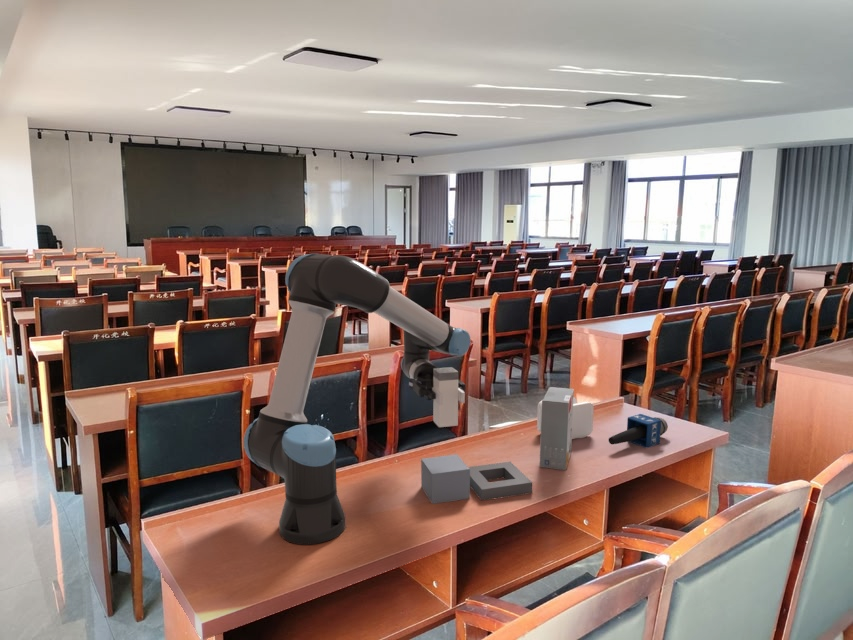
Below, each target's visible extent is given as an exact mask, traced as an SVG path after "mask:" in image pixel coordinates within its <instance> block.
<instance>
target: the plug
mask: <svg viewBox="0 0 853 640" xmlns="http://www.w3.org/2000/svg"><path fill="white" fill-rule="evenodd" d="M458 379H459V371H458V370H457V369H455V368H454V367H452V366H450V367H449V366H448V367H437V368H433V388H434V387H435V388H436V389H437V390H438V391H440V392H441V393H442V394H443V405H439V404H438V403H437V402H436V401H435V400H434V399H432V401H433V403H432V404H433V405H432V406H433V407H432V408H433V410H432V411H433V413H432V414H433V416H432V417H433V418H432V419H433V423H434V424H435V425H436V426H437V427H438V428H444V427H445V428H446V427H447V428H449V427H455V426H456V427H457V426H459V400H458Z"/></svg>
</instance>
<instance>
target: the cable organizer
mask: <svg viewBox="0 0 853 640" xmlns="http://www.w3.org/2000/svg"><path fill="white" fill-rule="evenodd" d="M536 411H537V414H536V415H537V416H536V417H537V418H536V419H537V420H536V429H537V431H538V432H539V433H541V416H542V400H540V401H539V402H538V403H537V410H536ZM593 428H594V404H593V403H591V402H589V401H583V402H578V400H577V398H576V397H574V396H573V419H572V440H575V439H584V438H587V437H588V436H590V435H591V434H592V433H593V431H594V429H593Z"/></svg>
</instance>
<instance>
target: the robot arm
mask: <svg viewBox="0 0 853 640" xmlns="http://www.w3.org/2000/svg"><path fill="white" fill-rule="evenodd" d="M284 279H285V282H284V283H285V286H286V287H287V289H286V290H288V293H289V297H288V301H287V303H288V304H289V306H290V308H291V313H290V318H289V322H288V326H287V330H286V333H285V337H284V342H283V345H282V349H281V354H280V357H279V362H278V366H277V369H276V373H275V377H274V381H273V385H272V389H271V392H270V396H269V400H268V404H267V405H266V406H265V407H263V408H262V409H260V411H259V412H258V413H259V414H258V417H257V418H255V419H254V420H253V422H252V423H250V424H249V425H248V426H247V428H246V430H245V432H244V436H243V447H244V452H245V454H246V456H247V457H248V459H249V460H250V461H251V462H253V463H254V464H256V466H258V467H259V468H262V469H265V470H267V471H268V472H271V473H272V474H275V475H277V476H278V477H281V478H283V479H284V492H285V493H284V494H285V499H284V502H283V503H284V504H283V507H282V511H281V514H280V518H279V523H278V528H279V529H278V530H279V531H278V532H279V535H280V536H281V538H282V539H283V540H285V541H287V542H289V543H293V544H297V545H316V544H321V543H325V542H328V541H331V540H333V539H336V538H337V537H338V536H339V535H341V534H342V533H343V532H344V530H345V528H346V524H347V523H346V514H345V512H344V509H343V507H342V503H341V501H340V499H339V496H338V492H337V491H338V490H337V457H336V455H337V448H336V443H335V438H334V437H335V436H334V435H333V433H332V432H331V431H330V429H327V428H326V427H324V426H321V425H319V424H312V425H311V424H308V419H307V417H306V415H305V414H304V409H305V405H306V402H307V398H308V395H309V390H310V387H311V386H310V384H311V382H312V377H313V373H314V370H315V365H316V362H317V357H318V354H319V351H320V350H319V349H320V346H321V341H322V337H323V334H324V329H325V325H326V321H327V319H328V318H329V317H330V316H332V315H333V314H335V311H336V306H337V305H342V306H343V305H344V306H348V307H352V308H357V309H358V310H361V311H363V312H364V313H366V314H373V313H374V314H376V315H378V316H380V317H381V318H383V319H385V320H386V321H388V322H390V323H392V324H394V325H395V326H396V327H398V328H400V329H402V330H403V357H402V358H401V361H400V367H401V370H402V372H403V374H404V375H405V377H407V378H409V379H408V388H409V390H410V389H411V390H413V391H414V392H415V394H416V395H418V397H420V398H425V396H426V400H427V401H433V399H434V400H435V401H436V402H437V403H438V404H439V405H443V394H442V393H441V392H440V391H438V390H437V389H436V388H435V387H434V388H433V368H438V367H437V366H436V365H434V363H432V362H431V361H430V351H432V352H437V353H441V354H446V355H450V356H452V357H453V356H458V357H460V356H464V355H465V354H467V352H468V351H469V348H470V345H471V342H472V341H471V336H470V333H469V332H468V331H467V330H466V329H463V328H460V327H453V326H452V325H451V324H449V323H447V322H445V321H444V320H443V319H441V318H439V317H438V316H436V315H434V314H433V313H431V312H430V311H428V310H427V309H425V308H424V307H422V306H421V305H419V304H418V303H416V302H415V301H413V300H411V299H410V298H409V297H407V296H405V295H404V294H402V293H401V292H399V291H397V290H396V289H394V288H393V287H391V285H390V282H389V281H388V279H387V278H385V277H384V276H383V275H381V274H379V273H378V272H377V271H375V270H373V269H372V268H371V267H369V266H367V265H365V264H363V263H362V262H360V261H359V260H356V259H354V258H352V257H349V256H345V255H333V254H323V253H317V252H316V253H309V254H302V255H300V256H298V257H296V258H295V259H294V260H293V261H291V262H290V264H289V266H288V268H287V270H286V272H285V278H284ZM465 401H466V383H464V382H463V381H462V380H460V379H459V378H458V402H459V403H461V404H466V403H465Z"/></svg>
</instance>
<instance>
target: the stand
mask: <svg viewBox="0 0 853 640" xmlns="http://www.w3.org/2000/svg"><path fill="white" fill-rule="evenodd" d="M420 459H421V461H420V468H421V469H420V470H421V471H420V472H421V473H420V474H421V475H420V476H421V479H420V480H421V488H422V491H423V492H424V493H425V495H426V496H427V498H428V499H429V502H431V504H432V505H436V504H441V503H447V502H448V503H449V502H455V501H461V500H469V498H471V487H470V469H469V467H470V466H468V465H467V464H466V463H465V462H464V461H463V459H462V458H461V457H460V456H459V455H458V454H457V453H456V454H448V455H441V456H433V457H432V456H431V457H424V458H420Z"/></svg>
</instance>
